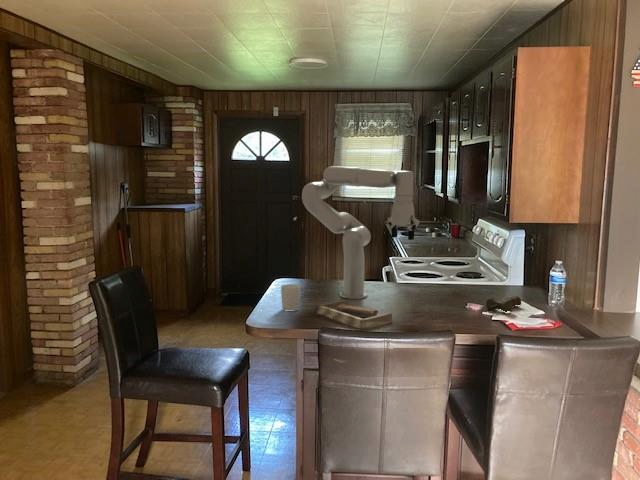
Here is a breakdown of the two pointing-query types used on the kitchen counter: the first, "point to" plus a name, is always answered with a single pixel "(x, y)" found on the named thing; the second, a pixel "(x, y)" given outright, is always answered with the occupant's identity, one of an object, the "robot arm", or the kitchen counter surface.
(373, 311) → the packaged product
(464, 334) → the kitchen counter surface
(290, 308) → the white cup
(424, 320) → the kitchen counter surface
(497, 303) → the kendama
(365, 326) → the wooden frame
